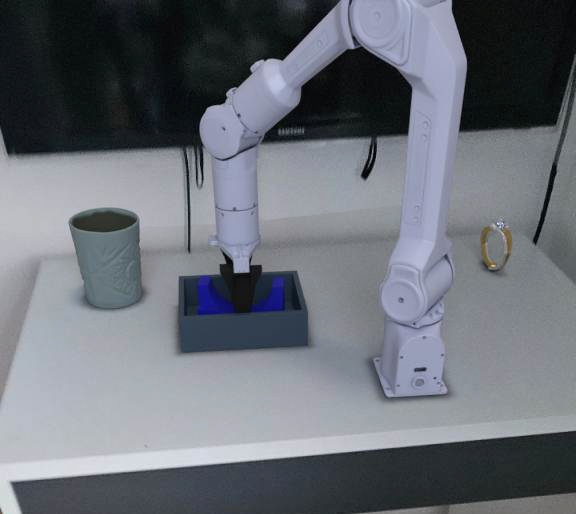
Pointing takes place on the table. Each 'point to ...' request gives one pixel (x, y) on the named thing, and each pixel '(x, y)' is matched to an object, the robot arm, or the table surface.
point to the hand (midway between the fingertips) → (241, 300)
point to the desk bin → (242, 317)
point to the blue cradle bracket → (217, 305)
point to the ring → (506, 243)
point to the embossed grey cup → (108, 255)
